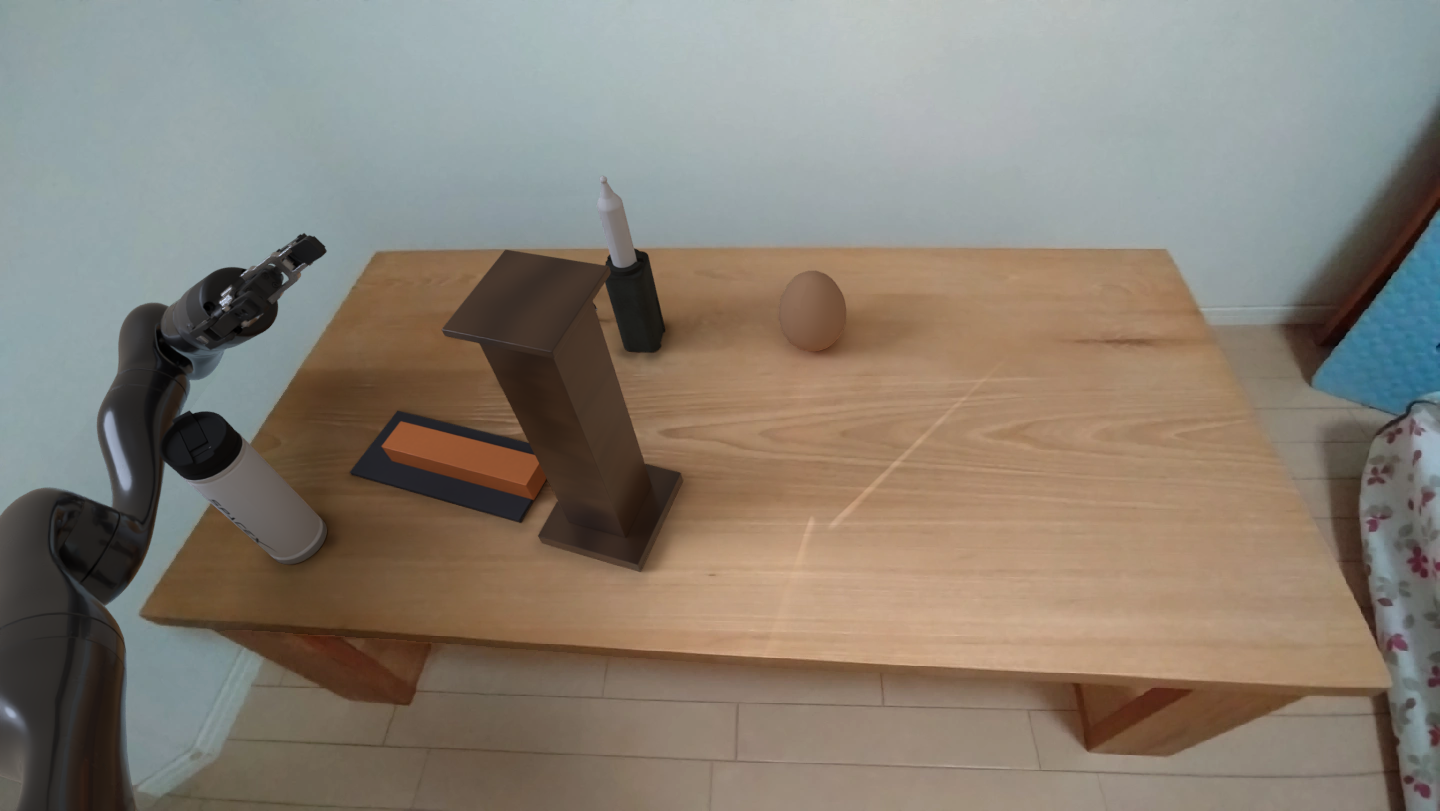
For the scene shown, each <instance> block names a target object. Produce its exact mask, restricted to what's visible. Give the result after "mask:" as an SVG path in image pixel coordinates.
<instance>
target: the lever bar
mask: <svg viewBox="0 0 1440 811" xmlns="http://www.w3.org/2000/svg"><path fill="white" fill-rule="evenodd" d="M381 447H382V448H383V449H384V451H385V452H386V453H387V455H388V456H389V457H390V459H391V460H392V461H394V462H397V463H401V464H405V465H408V466H412V467H416V468H419V469H423V470H426V471H430V472H434V473H437V474H441V475H445V476H448V477H452V478H456V479H459V480H463V481H467V482H470V483H474V484H478V485H481V486H485V487H489V488H492V489H496V490H500V491H503V492H507V493H511V494H514V495H518V496H521V497H525V498H529V499H532V500H534V499H536V498H537V496H538V494H539V493H540V491H541V490H542V488H543V486H544V484H545V483H546V481H547V478H546V476H545V474H544V472H543V470H542V468H541V466H540V464H539V462H538V460H537V458H536V456H535V455H532V454H528V453H524V452H520V451H517V450H513V449H509V448H505V447H501V446H497V445H493V444H489V443H485V442H481V441H477V440H473V439H469V438H465V437H461V436H457V435H453V434H449V433H445V432H441V431H438V430H434V429H430V428H426V427H422V426H418V425H414V424H410V423H406V422H402V421H401V422H400V423H399V424H398V425H397V427H396V428H395V429H394V431H393V432H392V433H391V435H390V436H389V437H388V438H387V440H386V441H385V442H384V444H383V445H382V446H381ZM545 480H546V481H545ZM544 482H545V483H544ZM542 485H543V486H542ZM541 487H542V488H541ZM539 490H540V491H539ZM538 492H539V493H538ZM536 495H537V496H536ZM535 497H536V498H535ZM534 501H535V500H534Z"/></svg>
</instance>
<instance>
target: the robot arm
mask: <svg viewBox="0 0 1440 811" xmlns="http://www.w3.org/2000/svg"><path fill="white" fill-rule="evenodd" d="M327 252H328V250H327V249H326V246H325V245H324V244H323V243H322V241H320V240H319V239H318V238H317V237H316V236H315V235H310V234H309V235H307V234H306V233H305V232H303V233H300V234H298V235H297V236H296V238H294V239H293V240H292V241H290V242H289V243H287V244H286V245H284V246H283V247H281V248H278V249H277V250H275V251H274V252H271V253H270V254H269V255H268V256H266V257H265V258H264V259H263V260H261V261H260V262H259V263H258V264H256V265H250V267H249V268H245V267H240V266H239V267H238V266H228V267H227V266H226V267H223V268H222V267H221V268H219V269H216V270H214V271H212V272H211V273H209V274H208V275H206V276H205V277H203V278H202V279H201V280H199V281H198V282H197V283H195V284H194V285H193V286H191V287H189V288H188V289H187V290H186V291H185V292H183V294H182V296H181V297H180V298H179V299H177V300H175V301H174V302H173V303H171V304H170V305H167V304H165V303H161V302H153V301H152V302H146V303H143V304H140V305H138V306H136V307H135V308H133V309H131V311H130V312H129V313H128V314H127V315H126V317H125V318H124V319H123V321H122V323H121V326H120V330H119V334H118V343H117V345H118V346H117V349H118V350H117V354H118V357H117V358H118V362H117V371H116V375H115V377H114V378H113V380H112V382H111V385H110V386H109V389H108V390H107V391H106V394H105V395H104V398H103V400H102V401H101V403H100V404H101V405H100V407H99V409H98V411H97V415H96V416H97V417H96V436H97V441H98V444H99V447H100V452H101V453H102V457H103V462H104V464H105V467H106V472H107V475H108V478H109V483H110V484H109V485H110V490H111V505H110V506H109V505H107V504H104V503H102V502H100V501H98V500H94V499H92V498H90V497H88V496H85V495H82V494H80V493H77V492H75V491H72V490H68V489H64V488H58V487H51V486H49V487H48V486H47V487H40V488H36V489H32V490H30V491H28V492H26V493H25V494H23V495H21V496H19V497H18V498H16V499H15V500H13V501H12V503H10V504H9V505H8V506H7V507H6V508H5V509H4V510H3V511H2V512H1V514H0V777H1V778H4V779H7V780H10V781H12V782H16V783H19V784H20V790H19V795H18V799H17V802H16V805H15V806H14V810H13V811H138V810H137V804H136V799H135V793H134V787H133V782H132V776H131V772H130V771H131V770H130V764H129V755H128V737H127V714H126V713H127V712H126V710H127V708H126V706H127V705H126V699H127V687H128V686H127V684H128V671H127V669H128V668H127V665H128V664H127V648H126V642H125V636H124V634H123V632H122V629H121V628H120V625H119V623H118V622H117V620H116V618H115V617H114V616H113V615H112V613H111V611H109V610H108V608H107V607H106V606H107V605H110V604H111V603H112V602H114V601H115V600H116V599H117V598H118V597H120V595H121V594H122V593H123V592H124V591H125V590H126V589H127V588H128V587H129V586H130V585H131V583H132V582H133V580H134V579H135V577H136V575H137V574H138V572H139V571H140V569H141V567H142V566H143V564H144V561H145V559H146V557H147V554H148V553H149V549H150V546H151V544H152V539H153V535H154V531H155V525H156V522H157V521H156V520H157V515H158V510H159V504H160V500H161V495H162V489H163V484H164V474H165V468H166V462H165V461H163V459H162V458H161V456H160V453H159V445H160V441H161V439H162V437H163V435H164V434H165V432H166V431H167V430H168V429H169V428H170V427H171V426H172V425H173V422H172V420H173V419H174V418H176V417H178V416H180V415H182V412H183V409H184V407H185V405H186V402H187V401H188V398H189V395H190V392H191V381H200V380H203V379H205V378H207V377H208V376H210V375H211V374H212V373H213V372H215V370H216V369H217V367H218V366H219V364H220V363H221V361H222V358H223V356H224V354H225V351H226V350H228V349H231V348H236V347H238V346H241V345H242V344H245V343H246V342H247V341H250V340H251V339H253V338H255V337H257V336H259V335H261V334H263V333H265V332H266V331H268V330H269V329H270V328H271V327H272V326H273V324H274V323H275V321H276V319H277V317H278V313H279V301H278V300H280V299H281V297H282V296H283V295H284V293H285V291H287V290H288V289H289V288H291V287H292V286H293V285H294V284H296V283H297V282H298V281H299V279H301V277H302V271H304V270H305V269H306V268H307V267H308V266H309V267H311V266H312V265H313V264H314V262H316V261H318V260H319V259H320V258H322V257H324V255H326V254H327ZM284 275H285V276H286V277H287V280H286V281H285V282H284V279H285V276H284Z"/></svg>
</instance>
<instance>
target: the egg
mask: <svg viewBox="0 0 1440 811" xmlns="http://www.w3.org/2000/svg"><path fill="white" fill-rule="evenodd" d="M778 322H779V326H780V329H781V331H782V334H783V335H784V337H785V338H786V339H787V341H788V342H789V343H790V344H792V345H793V346H794V347H796V348H797V349H799V350H802V351H806V352H819V351H823V350H825V349H828V348H829V347H831V346H832V345H833V344H834V343H835V342H837V340H838V339H839V338H840V336H841V334H842V333H843V331H844V330H845V327H846V322H847V305H846V300H845V297H844V294H843V292H842V291H841V289H840V287H839V285H838V284H837V283H836V281H835V280H834V279H833V278H832V277H831V276H829V275H828V274H827V273H825V272H822V271H819V270H806V271H802V272H800V273H798V274H797V275H795V276H794V277H793V278H792V279H791V280H790V281H789V283H788V284H786V287H785V288H784V290H783V292H782V294H781V296H780V300H779V304H778Z"/></svg>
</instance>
